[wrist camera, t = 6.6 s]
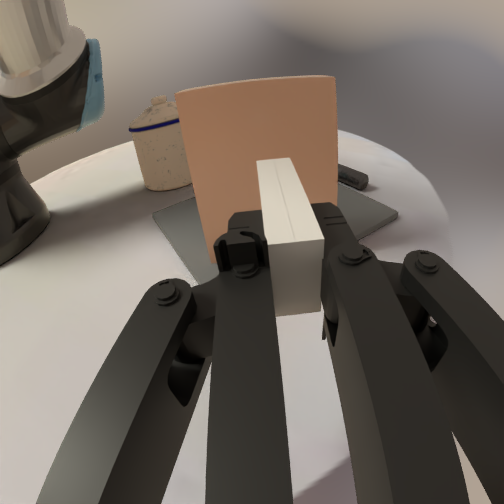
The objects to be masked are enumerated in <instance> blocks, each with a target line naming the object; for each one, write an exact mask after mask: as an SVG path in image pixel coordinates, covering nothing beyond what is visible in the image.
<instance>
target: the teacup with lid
mask: <svg viewBox="0 0 504 504" xmlns="http://www.w3.org/2000/svg"><path fill="white" fill-rule="evenodd" d="M166 101H167V98H166V96H165V95H162V96H158V97H154V98H152V99H151V103H152V105H153V106H151V107H148V108H147V109H145V110H144V112H143V113H142V114H141V115H140V116H139V117H138V118H137V119H135V120H133V121H132V122H131V123H130V125H129V127H130V128H129V131H130V132H131V133H132V137H133V141H134V145H135V149H136V153H137V157H138V161H139V164H140V168H141V172H142V175H143V179H144V183H145V186H146V187H147V188H148V189H150V190H154V191H165V190H172V189H176V188H180V187H183V186H186V185H189V184H191V183H192V179H191V175H190V170H189V165H188V161H187V156H186V151H185V146H184V141H183V136H182V131H181V126H180V121H179V116H178V111H177V105H176V102H166Z"/></svg>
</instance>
